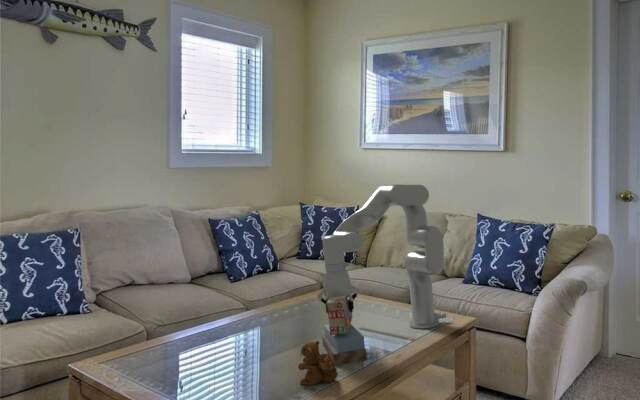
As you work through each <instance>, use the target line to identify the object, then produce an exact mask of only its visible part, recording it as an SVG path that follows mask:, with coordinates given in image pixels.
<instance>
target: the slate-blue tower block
mask: <svg viewBox="0 0 640 400" xmlns="http://www.w3.org/2000/svg"><path fill="white" fill-rule="evenodd" d="M323 327H324V335H325V337H326V338H327V339H328V341H329V342H330V343H331V344H332V346H333V347H334V348H335V350H336V351H337V352H338V353H343V352H349V351H354V350H360V349H366V346H365V338H364V335H362V333H361V332H360V331H359V330H357V329H356V327H354V326H353V325H352V324H351V323H350V327H349V329H348V332H347V334H338V335H330V328H329V327H330V326H329V324H324V325H323Z"/></svg>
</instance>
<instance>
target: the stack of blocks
mask: <svg viewBox="0 0 640 400" xmlns="http://www.w3.org/2000/svg"><path fill="white" fill-rule="evenodd" d="M348 301H349V298H348V297H347V296H346V295H345V296H338V297H330V299H329V300H328V302H327V307H328V313H327V315H328V323H329V324H328V325H329V326H330V327H329V328H330V335H338V334H347V332H348V329H349V327H350V324H351V323H352V319H353V312H350V311H349V304H348Z"/></svg>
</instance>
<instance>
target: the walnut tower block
mask: <svg viewBox="0 0 640 400" xmlns="http://www.w3.org/2000/svg"><path fill="white" fill-rule="evenodd" d="M321 337H322V347H324V349H325V351H326V354H329V356H330V357H331V359H332V360H333V362H334V363H335V364H334V365H335V366H339V365H343V364H349V363H357V362H363V361H368V358H367V350H366V348H365V349H360V350H354V351H349V352H343V353H338V352H337V351H336V350H335V348H334V347H333V346H332V344H331V343H330V342H329V341H328V339H327V338H326V337H325V334H324V335H322V336H321Z"/></svg>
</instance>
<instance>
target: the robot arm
mask: <svg viewBox="0 0 640 400" xmlns="http://www.w3.org/2000/svg"><path fill="white" fill-rule="evenodd" d="M429 195H430V194H429V190H428V188H427V187H426V186H424V185H423V184H399V183H397V184H383V185H380V186H378V188H377V189H375V191H374V192H373V193H372V195H371V196H370V197H369V198H368V200H367V201H366V202H365V203H364V204H363V206H362V207H361V208H359V210H357V211H355V212H354V213H353V214H351V215H350V216H349V217H347V218H346V219H344V220H343V221H342V222H341V223H340V224H339V225H338V227H336V229H335V230H334V231H333V232H332V234H331V235H326V236H323V237H322V249H323V258H324V266H325V268H324V269H325V271H324V272H323V276H322V277H323V278H322V280H323V288H322V289H321V291H319V292H318V293H317V294H316V297H317V298H318V299H319V301H320V302H321V303H323V304H324V305H325V311H326V314H328V307H327V302H328V300H329V299H330V297H338V296H345V295H346V296H347V297H348V298H349V301H348V304H349V311H350V312H352V313H354V312H353V311H354V309H355V307H354V301H355V299H356V298H357V297H358V295H359V292H360V289H359V288H358V287H356V286H354V285H352V284H351V279H350V275H349V272H348V269H347V267H349V262H345V261H346V260H345V253H352V252H357V251H359V250H361V248H362V247H363V245H364V239H363V236H362V235H361V234H360V233H358V232H359V231H361V230H364V229H367V228H369V227H372V226H373V225H376V224H377V223H378V222H380V221H381V218H383V216H384V215H385V214H386V212H387V211H388V210H389V208H390V207H392V206H393V207H397V206H399V207H400V208H402V210H403V212H404V214H405V222H406V241H407V243H408V245H409V246H410V247H412V248H415V249H416V248H417V249H424V251H423V250H413V251H412V250H411V251H410V252H408V253H407V254H406V256H405V258H404V266H405V267H404V268H405V271H406V275H407V278H408V287H409V295H410V304H411V305H410V306H411V316H412V320H410V321H409V327H410V328H412V329H422V330H423V329H432V328H435V327H438V326H439V325H440V319H446V318H447V313H445V312H443V313H440V312H438V313H437V312H435V311H436V310H435V305H434V303H435V302H434V292H433V284H432V283H433V282H432V279H431V277H430V276H439V275H440V274H441V273H442V271H443V269H444V265H445V250H444V248H445V247H444V237H443V233H442V232H441V231H442V230H441V229H439V228H438V227H437V226H434V225H428V221H427V220H428V219H427V212H426V209H425V207H424V205H425V204H426V203H427V202H428V201H429V197H430V196H429ZM352 290H353V291H354V292H353V291H352ZM323 295H324V297H326V298H325V299H324V298H323V297H322V296H323Z"/></svg>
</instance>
